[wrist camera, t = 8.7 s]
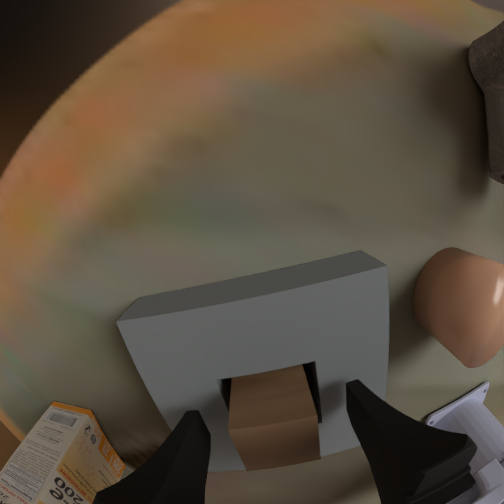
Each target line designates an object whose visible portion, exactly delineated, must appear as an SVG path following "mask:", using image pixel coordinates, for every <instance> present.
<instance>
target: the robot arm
mask: <svg viewBox="0 0 504 504" xmlns="http://www.w3.org/2000/svg"><path fill="white" fill-rule="evenodd" d="M488 388H489V382H485V383H483V384H482V385H480V386H479V387H477V388H476V389H474V390H473V391H471V392H470V393H468V394H466V395H465V396H463V397H461V398H460V399H458V400H456V401H454V402H453V403H451V404H449V405H447V406H445V407H444V408H442V409H440V410H438V411H436V412H434V413H432V414H430V415H429V416H428V417H427V419H426V422H425V424H423V423H421V422H419V421H417V420H414V419H412V418H410V417H408V416H406V415H405V414H403V413H401V412H400V411H398V410H396V409H395V408H393V407H392V406H390V405H389V404H388V403H386V402H385V401H384V400H382V399H381V398H380V397H378V396H377V395H376V394H375V393H373V392H372V391H371V390H370V389H369V388H368V387H366V386H365V385H364V384H363V383H362V382H361V381H360V380H359V379H356V380H353V381H349V382H346V410H347V413H348V416H349V419H350V422H351V425H352V428H353V430H354V432H355V434H356V436H357V438H358V440H359V442H360V444H361V446H362V448H363V450H364V453H365V455H366V457H367V459H368V461H369V464H370V467H371V470H372V473H373V476H374V479H375V482H376V486H377V489H378V493H379V497H380V500H381V504H504V427H503V426H502V425H501V424H500V423H499V421H498V420H497V419H496V418H495V417H494V416H493V415H492V413H491V412H490V411H489V410H488V409H487V408H486V407H485V406H484V405H483V404H482V403H483V401H484V398H485V396H486V393H487V390H488ZM210 453H211V434H210V432H209V430H208V428H207V426H206V424H205V422H204V420H203V418H202V416H201V414H200V412H199V410H189V411H186V412H185V414H184V415H183V417H182V418H181V420H180V421H179V422H178V424H177V425H176V427H175V428H174V430H173V431H172V432H171V434H170V435H169V436H168V438H167V439H166V440H165V441H164V443H163V444H162V445H161V446H160V447H159V448H158V450H157V451H156V452H155V453H154V454H153V455H152V456H151V457H150V458H149V459H148V460H147V461H146V462H145V463H144V464H143V465H141V466H140V467H139V468H138V469H136V470H135V471H134V472H132V473H131V474H130V475H128V476H127V477H125V478H124V479H122V480H120V481H119V482H117V483H115V484H113V485H111V486H109V487H107V488H105V489H103V490H101V491H98V492H97V493H96V495H95V498H94V500H93V503H92V504H205V485H206V478H207V472H208V466H209V460H210Z"/></svg>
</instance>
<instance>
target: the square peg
mask: <svg viewBox="0 0 504 504" xmlns="http://www.w3.org/2000/svg"><path fill="white" fill-rule="evenodd" d="M228 431H229V434H230V436H231V438H232V440H233V442H234V445H235V447H236V449H237V451H238V453H239V456H240V458H241V460H242V462H243V464H244V466H245V468H246V470H247V471H250V470H260V469H268V468H275V467H282V466H288V465H293V464H299V463H304V462H309V461H313V460H318V459H321V455H320V441H319V429H318V418H317V413H316V409H315V406H314V402H313V399H312V396H311V392H310V389H309V386H308V382H307V379H306V375H305V372H304V369H303V365H302V364H300V365H296V366H291V367H287V368H282V369H277V370H272V371H267V372H262V373H256V374H250V375H244V376H238V377H232V381H231V394H230V408H229V421H228Z"/></svg>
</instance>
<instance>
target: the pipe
mask: <svg viewBox="0 0 504 504" xmlns="http://www.w3.org/2000/svg"><path fill="white" fill-rule="evenodd" d="M468 61H469V66H470V69H471V72H472V74H473V77H474V78H475V80H476V81H477V83H478V85H479V86H480V88H481V90H482V92H483V93H484V100H485V111H486V124H487V138H488V166H489V177H491V178H493V179H494V180H496V181H497V182H500V183H502V184H504V21H503V22H502V23H500V24H499V25H498V26H497V27H495V28H494V29H492V30H491V31H489V32H488V33H486V34H484V35H483V36H481V37H479V38H478V39H476V40H474V41H473V42H472V43H471V45H470V48H469V52H468Z"/></svg>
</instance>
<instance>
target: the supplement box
mask: <svg viewBox="0 0 504 504" xmlns="http://www.w3.org/2000/svg"><path fill="white" fill-rule="evenodd" d="M124 469H125V464H124V463H123V461H122V460H121V459H120V457H119V456H118V454H117V453H116V452H115V450H114V449H113V447H112V446H111V444H110V443H109V441H108V440H107V438H106V437H105V435H104V433H103V432H102V430H101V428H100V426H99V424H98V422H97V420H96V418H95V416H94V414H93V412H92V411H91V410H90V409H85V408H80V407H76V406H71V405H68V404H63V403H59V402H55V401H54V402H53V403H52V404H51V405H50V406H49V408H48V409H47V410H46V411H45V413H44V414H43V415H42V416H41V418H40V419H39V420H38V421H37V423H36V424H35V425H34V427H33V428H32V429H31V431H30V432H29V433H28V434H27V436H26V437H25V438H24V440H23V441H22V442H21V444H20V445H19V447H18V448H17V449H16V451H15V452H14V453H13V455H12V456H11V458H10V459H9V460H8V462H7V463H6V465H5V466H4V468H3V469H2V470H1V472H0V504H92V503H93V500H94V498H95V495H96V493H97V492H98V491H101V490H103V489H105V488H107V487H109V486H111V485H113V484H115V483H117V482H119V481H120V479H121V477H122V474H123V472H124Z"/></svg>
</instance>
